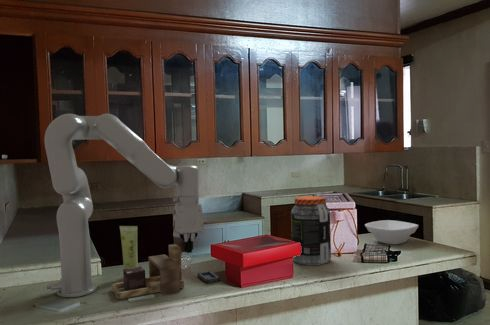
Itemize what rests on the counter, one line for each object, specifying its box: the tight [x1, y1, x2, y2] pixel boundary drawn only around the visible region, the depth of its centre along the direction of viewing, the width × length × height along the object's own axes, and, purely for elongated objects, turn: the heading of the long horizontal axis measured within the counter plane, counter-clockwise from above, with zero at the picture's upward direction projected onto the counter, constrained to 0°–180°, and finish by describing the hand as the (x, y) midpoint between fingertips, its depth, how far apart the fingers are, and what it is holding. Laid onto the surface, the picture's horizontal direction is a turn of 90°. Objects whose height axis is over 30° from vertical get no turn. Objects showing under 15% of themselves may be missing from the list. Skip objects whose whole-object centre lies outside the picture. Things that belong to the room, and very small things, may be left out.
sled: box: [111, 243, 185, 300], centre depth 144 cm, size 22×11×13 cm, turn 116°
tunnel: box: [148, 254, 181, 296], centre depth 146 cm, size 6×16×9 cm, turn 26°
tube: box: [119, 225, 139, 269], centre depth 157 cm, size 6×5×20 cm
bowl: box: [364, 219, 419, 245], centre depth 199 cm, size 21×21×9 cm
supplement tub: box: [290, 195, 332, 266], centre depth 172 cm, size 16×16×26 cm
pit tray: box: [197, 270, 221, 284], centre depth 154 cm, size 5×9×1 cm, turn 26°
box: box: [122, 265, 146, 291], centre depth 143 cm, size 6×6×7 cm
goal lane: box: [127, 293, 155, 303], centre depth 142 cm, size 8×18×1 cm, turn 26°
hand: (188, 251), depth 150 cm, fingers closed
